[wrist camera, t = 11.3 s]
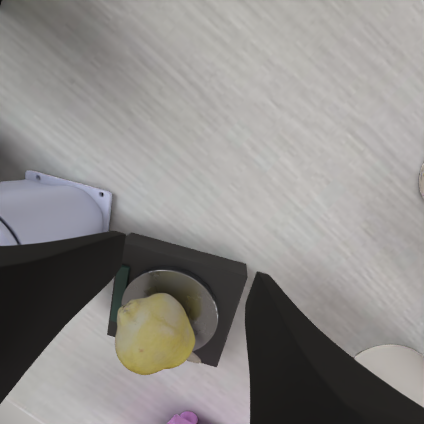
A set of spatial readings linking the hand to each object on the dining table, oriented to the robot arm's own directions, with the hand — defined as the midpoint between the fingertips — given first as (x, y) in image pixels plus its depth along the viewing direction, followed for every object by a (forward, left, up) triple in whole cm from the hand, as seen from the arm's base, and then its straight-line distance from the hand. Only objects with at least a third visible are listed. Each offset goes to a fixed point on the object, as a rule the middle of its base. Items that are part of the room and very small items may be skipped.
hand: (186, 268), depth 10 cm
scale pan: (-1, -10, -8) cm, 13 cm away
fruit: (-1, -10, -7) cm, 13 cm away
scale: (-1, -10, -10) cm, 15 cm away
